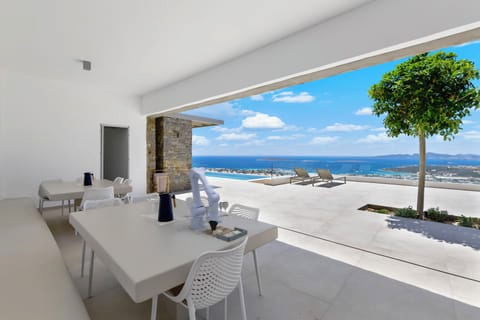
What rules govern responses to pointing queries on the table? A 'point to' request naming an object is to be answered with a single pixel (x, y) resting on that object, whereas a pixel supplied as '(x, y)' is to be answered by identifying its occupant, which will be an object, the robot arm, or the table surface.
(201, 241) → the table surface
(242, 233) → the tray
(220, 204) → the goblet set
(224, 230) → the walnut board
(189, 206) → the heart sculpture
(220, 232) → the cream tile
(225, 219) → the table surface
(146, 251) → the table surface
